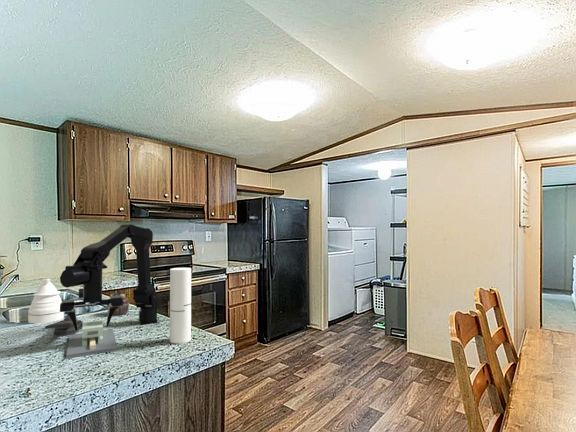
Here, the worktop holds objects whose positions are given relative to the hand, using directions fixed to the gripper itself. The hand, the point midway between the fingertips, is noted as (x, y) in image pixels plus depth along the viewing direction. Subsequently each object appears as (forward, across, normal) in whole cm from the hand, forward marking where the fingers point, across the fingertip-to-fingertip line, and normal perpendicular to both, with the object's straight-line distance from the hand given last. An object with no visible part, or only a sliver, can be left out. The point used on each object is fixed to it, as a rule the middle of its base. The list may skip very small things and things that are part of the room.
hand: (92, 328), depth 120 cm
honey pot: (+5, +17, -48) cm, 51 cm away
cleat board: (+5, 0, 0) cm, 5 cm away
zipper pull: (+5, +9, -18) cm, 21 cm away
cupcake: (+5, -11, -43) cm, 45 cm away
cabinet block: (+4, 0, 0) cm, 4 cm away
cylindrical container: (+5, -27, +12) cm, 30 cm away
